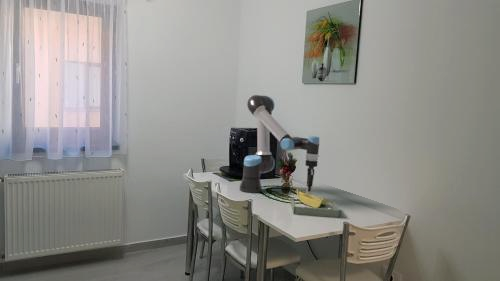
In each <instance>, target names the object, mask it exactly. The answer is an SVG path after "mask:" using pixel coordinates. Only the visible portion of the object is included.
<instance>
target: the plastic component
mask: <svg viewBox="0 0 500 281" xmlns="http://www.w3.org/2000/svg"><path fill="white" fill-rule="evenodd" d="M306 193H307V192H304V191H302V190H300V189H298V188H296V196H297V197H298V199H299V201H300V202H302V203H303V204H305V206H308V207H311V208H320V207H321V206H324V205H325V206H324V207H326V206H327V204H328V202H329V201H328V200H327V199H326V198H323V197H322V198H321V197H320V198H319V197H317V196H314V195H312V194H311V195H309V194H306Z"/></svg>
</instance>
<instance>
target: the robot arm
mask: <svg viewBox="0 0 500 281" xmlns="http://www.w3.org/2000/svg"><path fill="white" fill-rule="evenodd" d="M246 104H247V108H248V111H249V113H250V114H252V115H253V117H255V118H256V120H257V122H256V125H257V127H256V131H257V134H256V136H257V151H256V153H255V154H250V155H246V156H245V157H244V159H243V171H242V172H243V174H242V180H241V182H240V185H239V191H241V192H244V193H251V194H257V193H260V192H262V190H263V188H262V183H261V174H266V173H269V172H271V171H272V170H274V168H275V164H276V161H275V159H274V157H273V154H272V152H271V151H270V141H271V140H270V133H271V134H272V135H273V136H274V137H275V139H276V140H277V141H279V143H280V148H281V149H282V150H284V151H294V150H304V151H306V153H305V156H306V157H305V159H306V160H305V163H304V165H305V166H306V167H308V168H307V170H306V171H307V172H306V173H307V174H306V175H307V177H306V192H305V193H306V194H309V195H312V189H313V188H312V187H313V182H314V175H315V169H314V168H315V167H317V166H318V163H319V162H318V160H319V159H318V158H319V157H320V155H319V150H320V137H319V136H316V135H308V137H307V138H305V137H300V136H293V137H292V136H291V135H290V134H289V133H288V132H287V131H286V130H285V129H284V128H283V126H282V125H280V123H279V122H278V121H277V120H276V119H275V118H274V117H273V116H272V112H273V111H274V109H275V101H274V99H273V98H272V97H271V96H267V95H258V94H254V95H251V97H249V98H248V100H247V102H246Z"/></svg>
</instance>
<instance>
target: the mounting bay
mask: <svg viewBox="0 0 500 281" xmlns="http://www.w3.org/2000/svg"><path fill="white" fill-rule="evenodd" d="M290 206H291V210H292V214H293V215H303V216H314V217H315V216H319V217H327V216H329V217H328V218H341V212H342V209H341V208H340V207H339V205H338V204H337V203H336V202H334V201H333V202H332V207H328V208H321V207H318V208H314V207H311V206H308V205H303V206H297V205H296V203H295V201H294V198H292V199H291V200H290Z"/></svg>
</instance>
